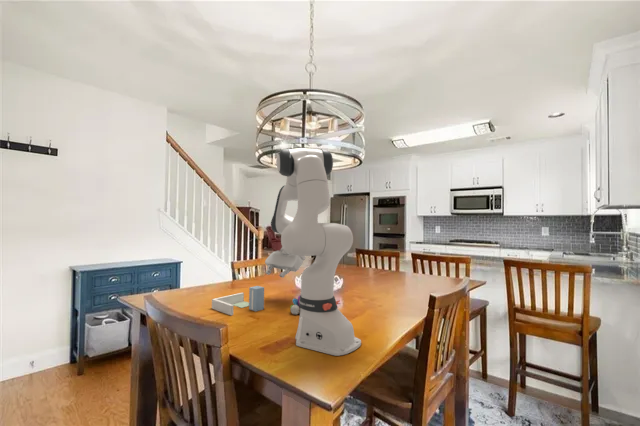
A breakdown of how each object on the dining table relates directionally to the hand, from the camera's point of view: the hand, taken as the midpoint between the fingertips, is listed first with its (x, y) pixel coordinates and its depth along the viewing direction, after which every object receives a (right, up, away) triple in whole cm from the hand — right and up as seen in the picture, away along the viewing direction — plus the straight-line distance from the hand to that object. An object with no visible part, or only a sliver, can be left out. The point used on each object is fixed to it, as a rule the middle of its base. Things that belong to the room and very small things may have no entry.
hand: (274, 275), depth 147 cm
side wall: (-20, -13, -12) cm, 27 cm away
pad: (-14, -13, -1) cm, 19 cm away
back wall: (-21, -13, -2) cm, 24 cm away
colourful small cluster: (+13, -14, -11) cm, 22 cm away
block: (-7, -13, -8) cm, 17 cm away
